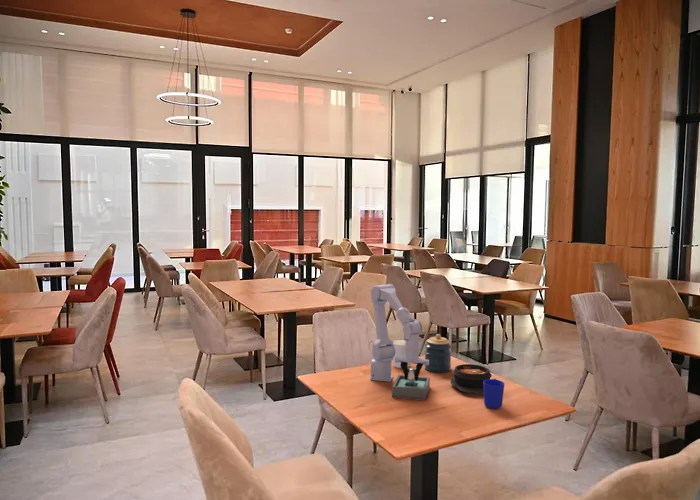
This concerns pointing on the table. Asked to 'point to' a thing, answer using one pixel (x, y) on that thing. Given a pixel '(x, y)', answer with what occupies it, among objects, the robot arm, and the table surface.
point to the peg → (411, 377)
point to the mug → (493, 393)
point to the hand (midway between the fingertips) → (411, 379)
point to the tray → (411, 388)
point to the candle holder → (399, 352)
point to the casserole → (470, 378)
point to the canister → (438, 354)
